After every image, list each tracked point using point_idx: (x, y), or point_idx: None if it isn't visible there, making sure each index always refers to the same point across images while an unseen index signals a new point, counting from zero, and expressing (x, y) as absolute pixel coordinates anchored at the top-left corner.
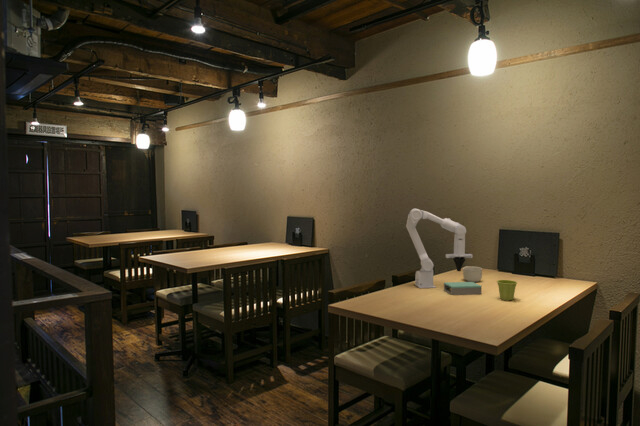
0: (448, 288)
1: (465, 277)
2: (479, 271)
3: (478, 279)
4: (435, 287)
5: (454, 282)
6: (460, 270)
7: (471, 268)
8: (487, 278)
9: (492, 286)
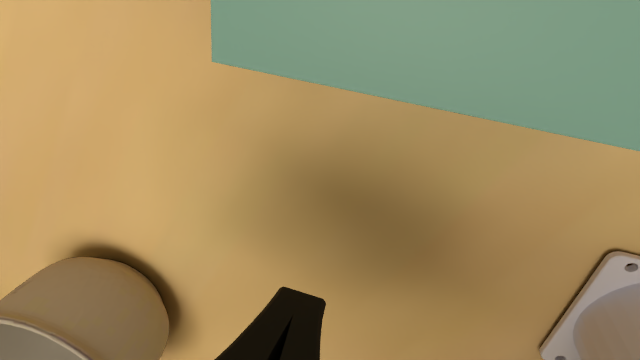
0: None
1: (161, 326)
2: (5, 308)
3: (78, 258)
4: (617, 251)
5: (519, 107)
6: (281, 296)
7: None
8: None
9: (23, 107)
